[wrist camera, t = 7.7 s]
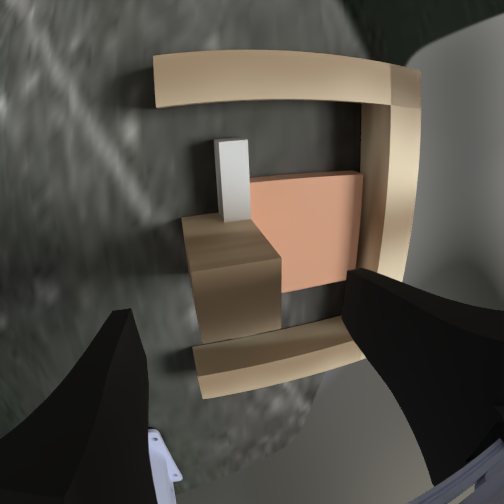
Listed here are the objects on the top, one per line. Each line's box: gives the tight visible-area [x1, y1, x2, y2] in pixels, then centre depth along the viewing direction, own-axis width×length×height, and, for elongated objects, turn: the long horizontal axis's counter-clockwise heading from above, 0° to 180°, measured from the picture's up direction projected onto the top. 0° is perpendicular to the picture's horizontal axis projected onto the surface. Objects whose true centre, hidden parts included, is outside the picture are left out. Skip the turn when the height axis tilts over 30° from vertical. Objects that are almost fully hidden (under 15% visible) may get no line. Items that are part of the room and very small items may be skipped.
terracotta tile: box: [249, 170, 363, 293], centre depth 17 cm, size 6×6×2 cm
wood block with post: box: [181, 137, 282, 343], centre depth 13 cm, size 10×3×6 cm, turn 2°
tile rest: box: [153, 50, 421, 399], centre depth 15 cm, size 17×12×2 cm
